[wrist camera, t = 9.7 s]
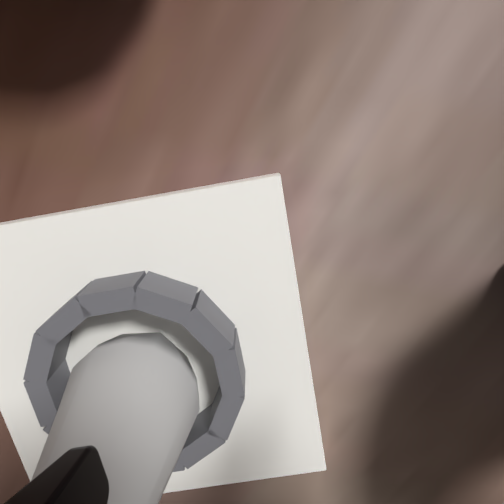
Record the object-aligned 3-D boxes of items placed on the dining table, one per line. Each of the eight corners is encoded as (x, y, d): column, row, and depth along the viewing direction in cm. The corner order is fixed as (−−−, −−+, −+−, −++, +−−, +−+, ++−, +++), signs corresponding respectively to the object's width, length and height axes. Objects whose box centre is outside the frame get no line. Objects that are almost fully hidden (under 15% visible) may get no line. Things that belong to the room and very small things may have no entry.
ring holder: (278, 172, 19) (283, 180, 16) (323, 455, 23) (333, 502, 20) (-56, 232, 20) (-109, 251, 17) (50, 495, 24) (23, 544, 21)
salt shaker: (182, 428, 22) (88, 852, 9) (75, 393, 21) (-178, 803, 9) (222, 338, 20) (169, 723, 8) (106, 296, 19) (-161, 646, 7)
